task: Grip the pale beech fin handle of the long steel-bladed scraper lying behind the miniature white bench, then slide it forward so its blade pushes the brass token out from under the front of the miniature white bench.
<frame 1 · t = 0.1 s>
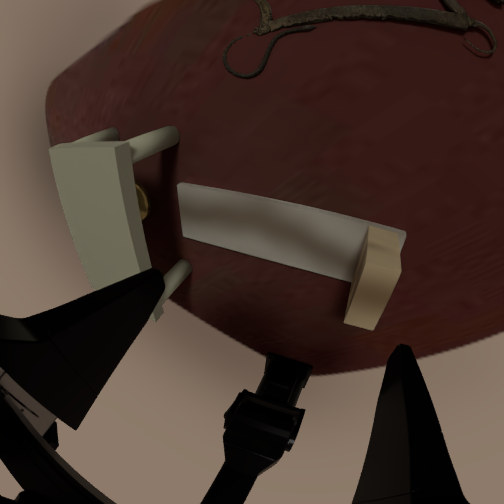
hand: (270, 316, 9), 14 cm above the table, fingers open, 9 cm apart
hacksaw: (374, 10, 11), on the table
token: (137, 198, 30), on the table
miniature white bench: (147, 201, 29), on the table
scraper: (374, 253, 22), on the table
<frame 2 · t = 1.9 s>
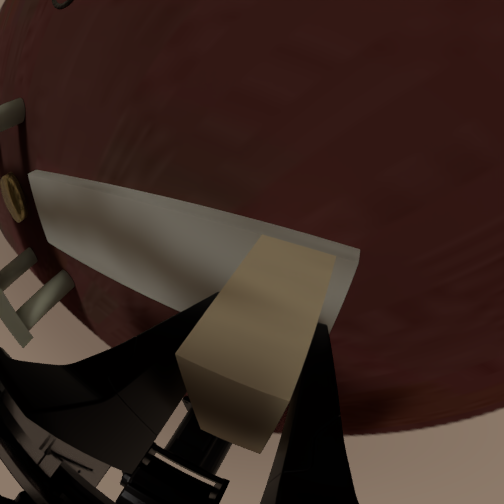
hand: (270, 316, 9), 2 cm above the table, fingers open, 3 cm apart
token: (18, 194, 18), on the table
miniature white bench: (22, 197, 18), on the table
scraper: (292, 291, 11), on the table, touching gripper
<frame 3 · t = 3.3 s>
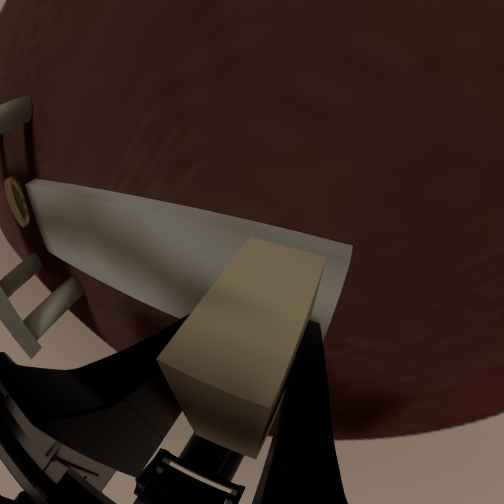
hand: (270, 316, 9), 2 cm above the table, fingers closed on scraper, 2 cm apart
token: (23, 197, 18), on the table
miniature white bench: (28, 201, 17), on the table
scraper: (286, 294, 11), on the table, touching gripper
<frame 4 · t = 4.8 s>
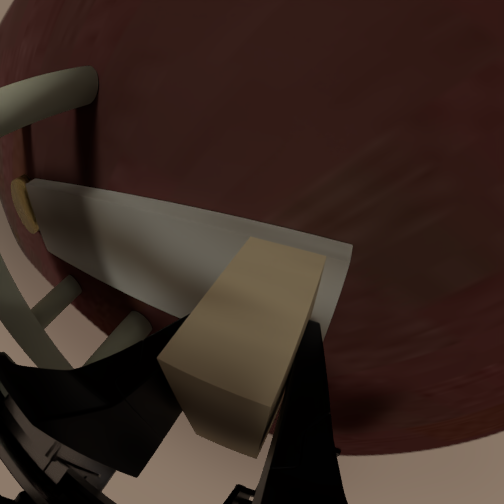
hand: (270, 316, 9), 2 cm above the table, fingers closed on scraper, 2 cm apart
token: (32, 200, 17), on the table, touching scraper
miniature white bench: (71, 215, 15), on the table
scraper: (286, 293, 11), on the table, touching gripper, token
when the fingers open (2 cm above the table, at t = 6.6 s): scraper stays where it is, on the table.
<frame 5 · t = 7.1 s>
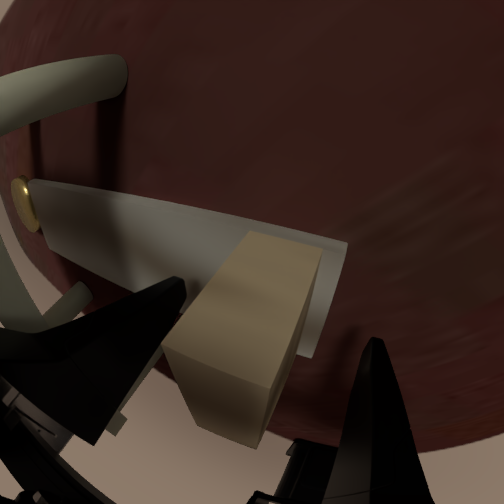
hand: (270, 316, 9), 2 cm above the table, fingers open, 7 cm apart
token: (32, 200, 17), on the table
miniature white bench: (86, 219, 14), on the table
scraper: (284, 287, 11), on the table
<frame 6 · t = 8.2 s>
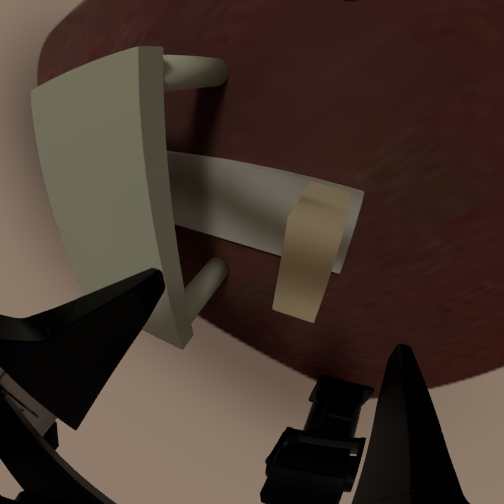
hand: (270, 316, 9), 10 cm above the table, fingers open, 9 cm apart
miniature white bench: (168, 174, 20), on the table
scraper: (324, 222, 18), on the table
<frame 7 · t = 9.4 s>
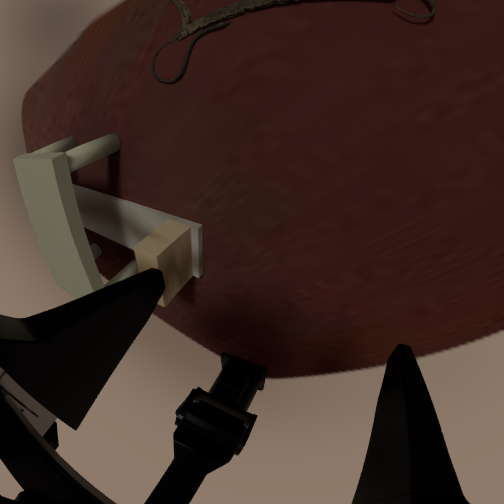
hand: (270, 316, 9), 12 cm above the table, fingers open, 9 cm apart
miniature white bench: (102, 204, 29), on the table
scraper: (186, 243, 27), on the table
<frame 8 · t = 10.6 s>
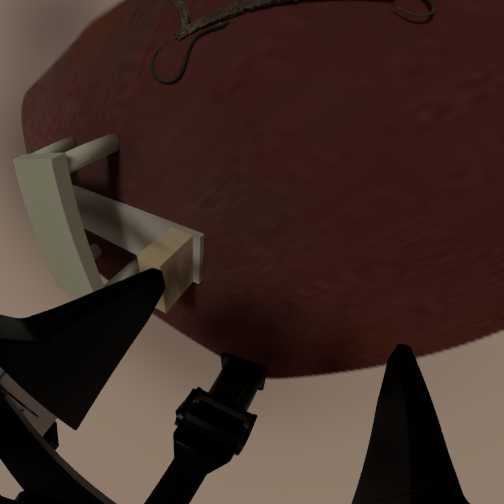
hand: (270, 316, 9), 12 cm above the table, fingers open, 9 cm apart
miniature white bench: (102, 204, 29), on the table
scraper: (187, 250, 28), on the table
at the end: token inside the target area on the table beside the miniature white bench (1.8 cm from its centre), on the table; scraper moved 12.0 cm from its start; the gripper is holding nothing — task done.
